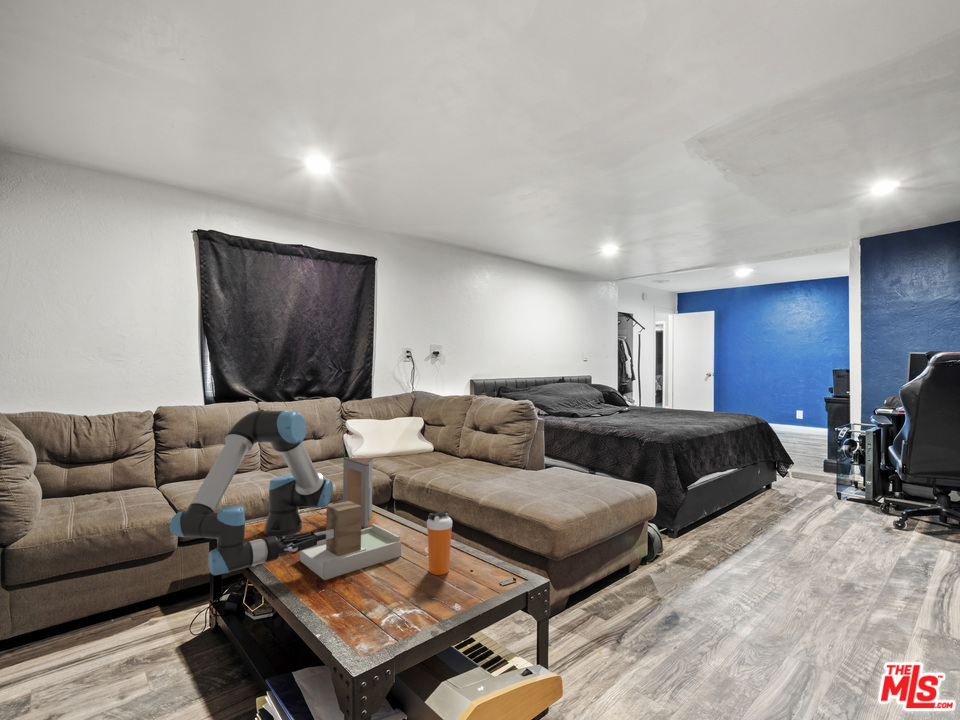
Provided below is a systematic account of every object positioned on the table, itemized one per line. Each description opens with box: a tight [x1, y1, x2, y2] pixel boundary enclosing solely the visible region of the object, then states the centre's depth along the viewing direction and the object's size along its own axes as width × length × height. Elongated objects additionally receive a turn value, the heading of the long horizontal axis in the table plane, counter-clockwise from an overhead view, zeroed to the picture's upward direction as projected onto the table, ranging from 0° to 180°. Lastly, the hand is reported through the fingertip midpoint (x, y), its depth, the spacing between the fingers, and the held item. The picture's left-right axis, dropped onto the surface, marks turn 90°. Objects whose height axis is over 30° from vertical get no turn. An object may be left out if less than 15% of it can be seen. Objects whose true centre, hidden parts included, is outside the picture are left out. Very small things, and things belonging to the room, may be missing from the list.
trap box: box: [299, 523, 402, 581], centre depth 173 cm, size 21×30×7 cm
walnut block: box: [325, 501, 362, 557], centre depth 171 cm, size 9×9×16 cm
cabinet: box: [342, 456, 374, 529], centre depth 215 cm, size 21×10×28 cm, turn 43°
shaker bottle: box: [426, 510, 453, 576], centre depth 164 cm, size 9×9×20 cm
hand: (333, 533), depth 167 cm, fingers closed
